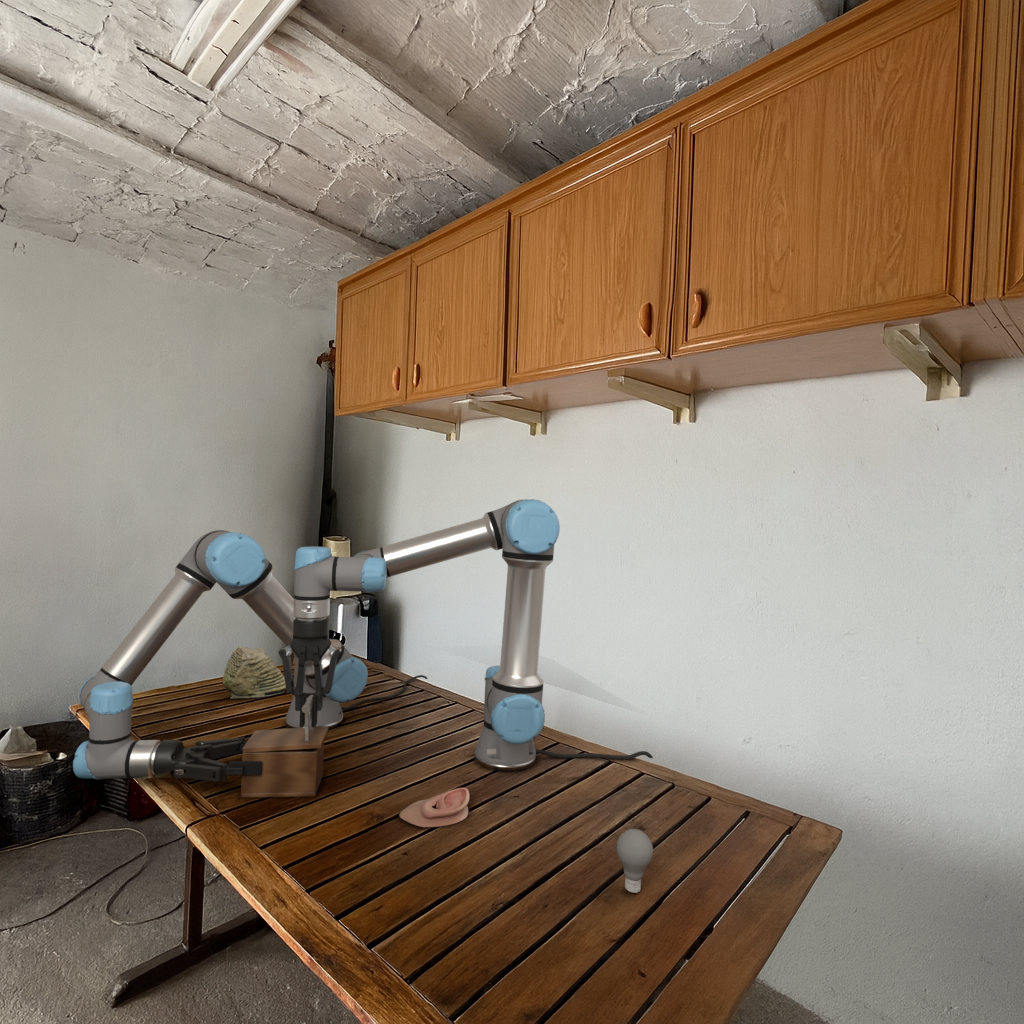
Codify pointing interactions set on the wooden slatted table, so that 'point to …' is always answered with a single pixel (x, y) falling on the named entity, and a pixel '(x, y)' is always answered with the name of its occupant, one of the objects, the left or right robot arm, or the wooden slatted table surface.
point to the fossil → (252, 674)
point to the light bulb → (634, 857)
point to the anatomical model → (438, 809)
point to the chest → (284, 773)
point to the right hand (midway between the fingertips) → (308, 724)
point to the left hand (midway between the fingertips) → (268, 757)
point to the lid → (288, 736)
